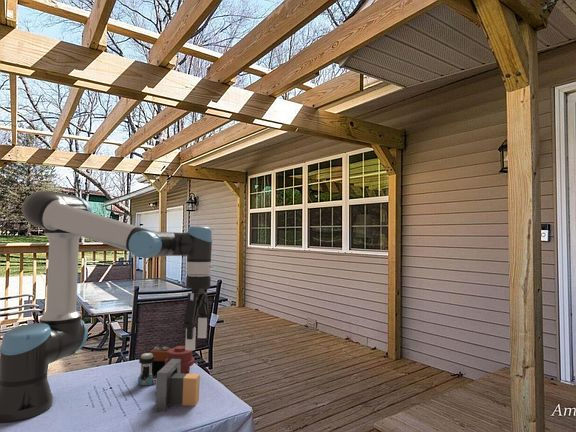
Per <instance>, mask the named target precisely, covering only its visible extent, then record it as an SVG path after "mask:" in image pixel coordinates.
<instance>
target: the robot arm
mask: <svg viewBox="0 0 576 432" xmlns="http://www.w3.org/2000/svg"><path fill="white" fill-rule="evenodd" d="M21 209H22V210H21V212H22V215H23V217H24V219H25V220H26V222H27V223H28V224H30V225H33V226H34V227H37V228H42V229H44V231H43V235H44V236H46V237H47V238H48V259H47V260H48V261H47V262H48V263H47V281H46V283H47V285H46V305H45V310H46V311H45V312H44V314H43V315H42V316H41V317H40V318H39V323H38V322H36V323H30V324H25V325H24V324H23V325H19V326H16V327H13V328H11V329H10V330H7V331H6V332H5V333H4V334H3V336H2V338H1V344H0V423H9V422H18V421H22V420H26V419H30V418H33V417H35V416H38V415H41V414H43V413H44V412H46V411H48V410H49V409H50V408H51V407H52V406H53V401H54V397H53V393H52V390H51V386H50V384H49V380H48V372H49V364H51V363H54V362H57V361H59V360H62V359H64V358H67V357H70V356H72V355H73V354H75V353H77V352H79V351H80V350H81V349H82V348H83V346H84V345H85V344H86V342H87V340H88V336H89V334H88V333H89V330H88V327H87V324H85V321H84V320H83V319H82V313H80V312H79V311H78V310H77V302H78V300H77V299H78V298H77V297H78V296H77V295H78V274H79V273H78V272H79V271H78V269H79V249H80V247H79V246H80V239H81V238H86V239H89V240H93V241H95V242H98V243H101V244H104V245H107V246H108V245H109V246H111V247H114V248H118V249H121V250H124V251H128V252H130V253H132V255H133V256H134V257H138V258H140V259H141V258H142V259H150V258H158V257H168V256H169V257H170V256H171V257H178V256H179V257H186V270H185V271H186V275H187V276H186V278H185V279H186V281H185V287H186V288H187V289H191V292H189V293H188V294H187V302H186V303H187V304H186V309H185V316H184V320H183V324H182V328H183V329H185V341H184V342H185V345H184V346H185V350H192V351H195V350H196V333H197V339H207V330H208V329H207V328H208V327H207V326H208V323H207V322H208V318H210V311H209V301H208V300H209V299H208V288H209V289H210V287H211V282H212V281H211V279H212V278H211V272H212V271H211V270H212V268H214V267H213V266H214V265H213V264H212V250H213V249H212V246H213V239H212V237H213V235H212V234H213V233H212V232H213V231H212V229H211V227H209V226H197V225H196V226H188V229H187V231H186V232H171V231H169V232H168V231H154V230H150V229H147V228H143V227H139V226H137V225H133V224H129V223H128V222H123V221H120V220H117V219H114V218H110V217H107V216H104V215H101V214H97V213H94V212H93V211H92V208H91V205H90V204H89V202H87V200H85V199H84V198H82V197H80V196H76V195H74V194H66V193H61V192H55V191H50V190H41V191H40V190H39V191H36V192H33V193H31V194H30V195H29V196H27V197H26V198H25V200H24V201H23V203H22V207H21ZM198 316H199V317H198ZM197 317H198V318H197ZM197 319H198V320H197ZM196 322H197V328H196ZM196 329H197V331H196Z"/></svg>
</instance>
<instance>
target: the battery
mask: <svg viewBox="0 0 576 432" xmlns="http://www.w3.org/2000/svg"><path fill="white" fill-rule="evenodd" d="M170 349H171V348H170V347H169V346H163V347H159V346H155V347H154V348H153V349H152V350H150V352H149V353H152V355H153V356H155V359H154V362H152V375H154V377H157V372H158V371H160V370H161V369H162V368H163V367H164V366H165V360H166V359H167V358H168V350H170Z"/></svg>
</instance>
